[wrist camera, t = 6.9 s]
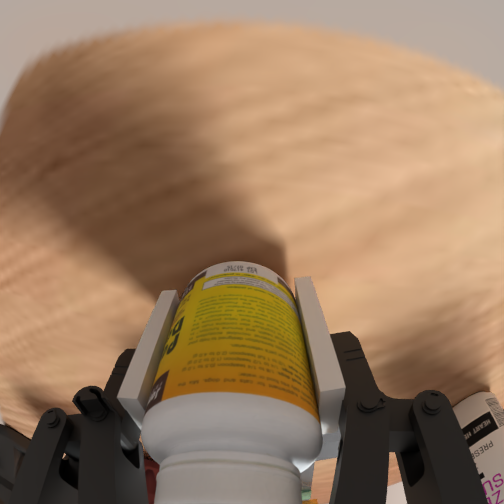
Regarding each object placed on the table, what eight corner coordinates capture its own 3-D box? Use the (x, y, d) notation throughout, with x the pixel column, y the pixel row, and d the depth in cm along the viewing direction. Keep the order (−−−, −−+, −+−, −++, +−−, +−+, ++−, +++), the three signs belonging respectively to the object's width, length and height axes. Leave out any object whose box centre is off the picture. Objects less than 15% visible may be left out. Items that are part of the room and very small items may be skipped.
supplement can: (475, 419, 24) (513, 508, 11) (422, 441, 25) (455, 543, 11) (501, 378, 21) (556, 478, 7) (445, 402, 21) (496, 525, 8)
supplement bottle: (182, 249, 13) (94, 469, 4) (305, 262, 14) (373, 486, 4) (182, 342, 16) (143, 522, 6) (283, 351, 16) (303, 533, 7)
